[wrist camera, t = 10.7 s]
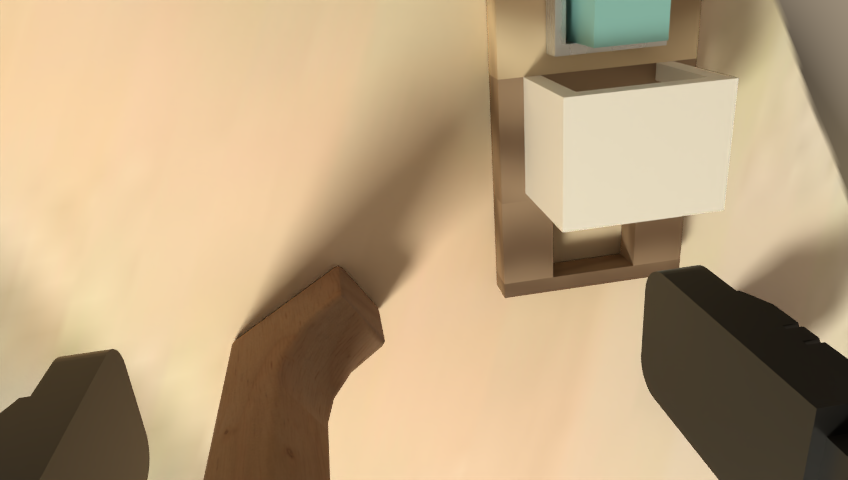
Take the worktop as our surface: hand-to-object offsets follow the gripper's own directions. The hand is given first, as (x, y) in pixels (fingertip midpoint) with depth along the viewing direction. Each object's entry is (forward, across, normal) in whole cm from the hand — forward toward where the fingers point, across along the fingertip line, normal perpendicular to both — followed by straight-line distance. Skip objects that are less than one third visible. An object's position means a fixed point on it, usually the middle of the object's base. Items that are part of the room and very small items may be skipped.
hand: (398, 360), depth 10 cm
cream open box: (+28, -15, +4) cm, 32 cm away
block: (+28, -15, -3) cm, 32 cm away
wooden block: (+30, +4, +16) cm, 34 cm away
